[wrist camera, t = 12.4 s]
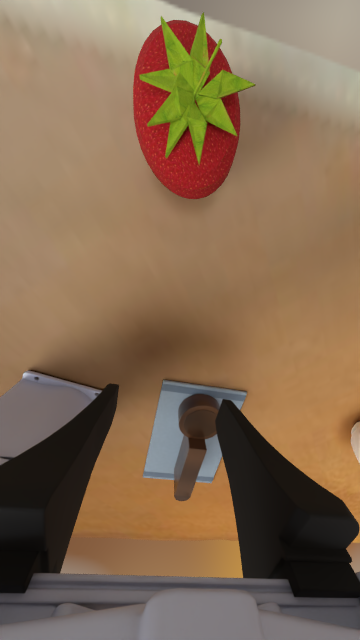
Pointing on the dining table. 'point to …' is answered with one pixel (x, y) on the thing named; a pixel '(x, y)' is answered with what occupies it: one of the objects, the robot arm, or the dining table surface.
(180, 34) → the strawberry
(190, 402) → the spoon
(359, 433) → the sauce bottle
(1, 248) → the dining table surface
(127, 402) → the dining table surface
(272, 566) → the robot arm
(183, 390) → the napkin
